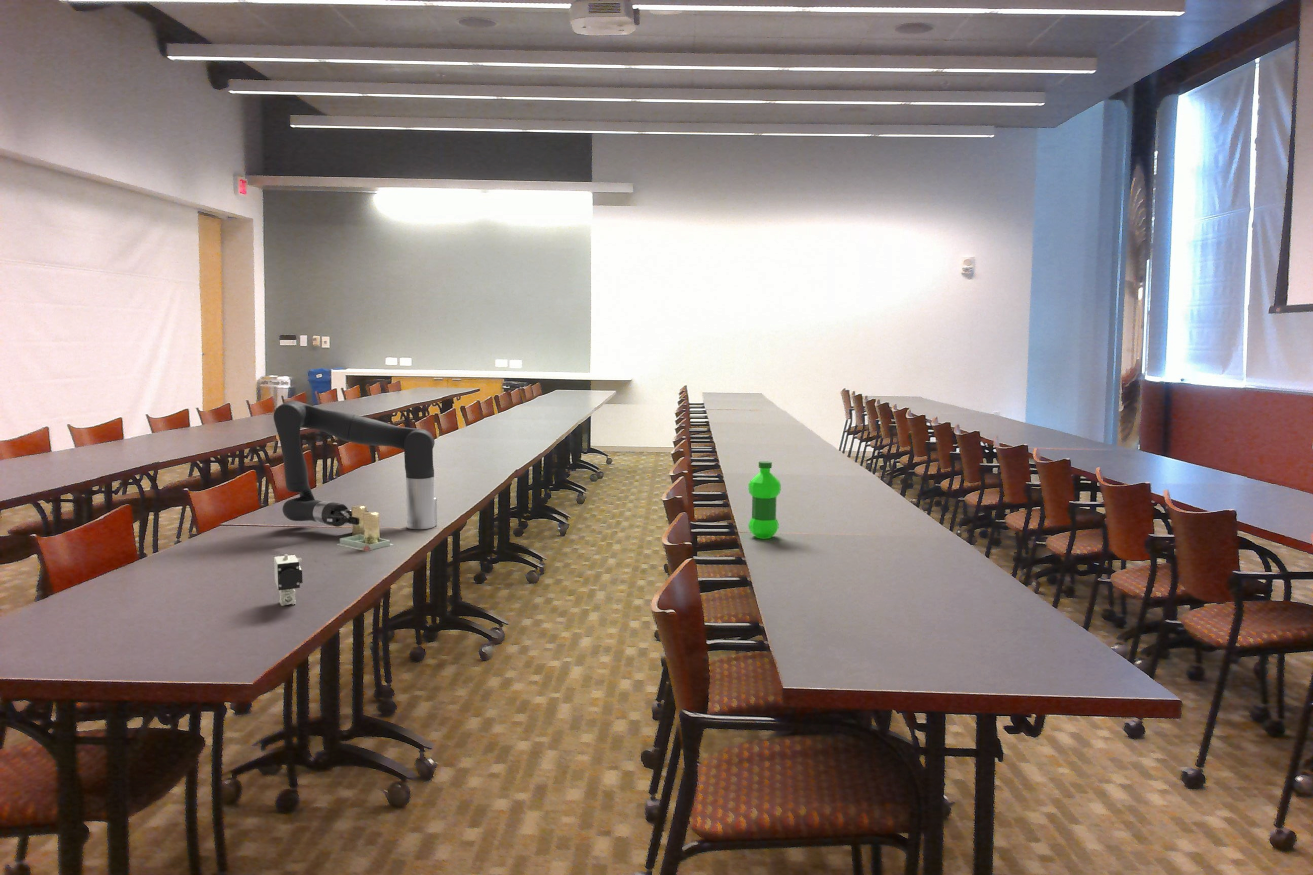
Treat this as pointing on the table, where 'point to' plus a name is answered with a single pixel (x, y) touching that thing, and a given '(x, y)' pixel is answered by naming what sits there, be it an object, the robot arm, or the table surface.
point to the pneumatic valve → (287, 577)
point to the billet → (358, 512)
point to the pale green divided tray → (362, 543)
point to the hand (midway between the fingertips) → (365, 519)
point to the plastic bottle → (764, 502)
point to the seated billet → (371, 527)
